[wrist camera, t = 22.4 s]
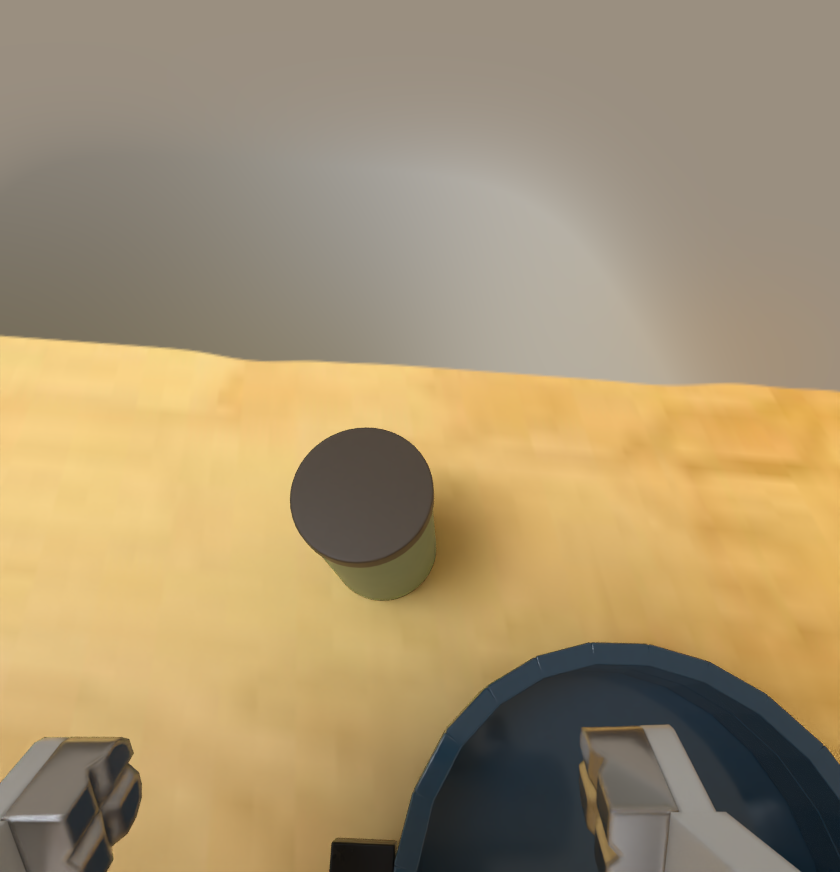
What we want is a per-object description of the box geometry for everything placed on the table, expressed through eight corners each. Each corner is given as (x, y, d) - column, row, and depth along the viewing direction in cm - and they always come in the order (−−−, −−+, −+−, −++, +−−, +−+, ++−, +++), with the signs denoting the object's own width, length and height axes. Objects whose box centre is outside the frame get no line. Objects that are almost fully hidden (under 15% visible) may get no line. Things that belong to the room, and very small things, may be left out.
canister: (325, 601, 27) (279, 561, 20) (336, 496, 29) (299, 426, 22) (437, 604, 27) (432, 564, 19) (439, 497, 29) (434, 426, 22)
